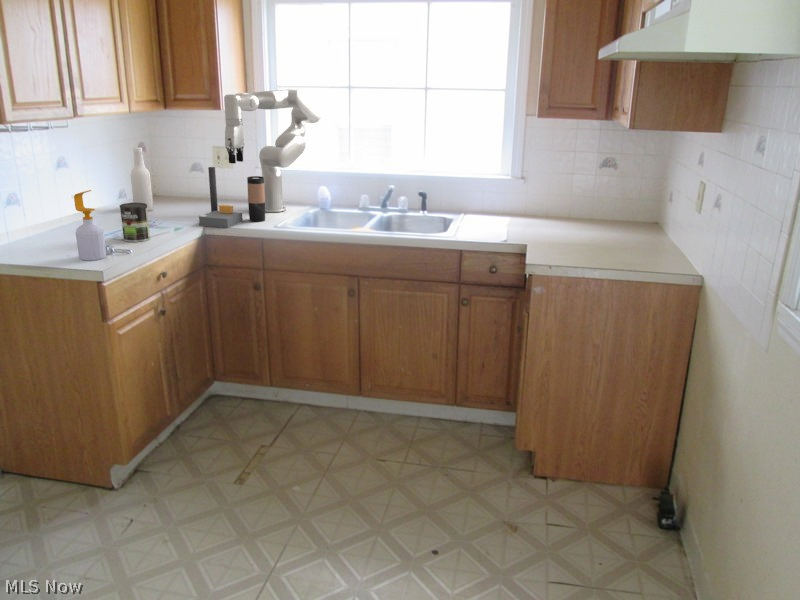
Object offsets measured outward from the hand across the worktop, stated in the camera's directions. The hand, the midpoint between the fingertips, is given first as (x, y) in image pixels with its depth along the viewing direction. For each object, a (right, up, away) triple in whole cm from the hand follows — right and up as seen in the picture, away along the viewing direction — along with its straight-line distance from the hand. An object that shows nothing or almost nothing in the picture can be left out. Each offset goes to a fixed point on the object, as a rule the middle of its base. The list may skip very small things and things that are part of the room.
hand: (236, 162), depth 300 cm
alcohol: (-49, -21, +16) cm, 56 cm away
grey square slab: (-5, -30, -7) cm, 31 cm away
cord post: (-12, -25, +6) cm, 28 cm away
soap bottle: (-36, -49, -65) cm, 89 cm away
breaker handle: (-4, -24, -4) cm, 25 cm away
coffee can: (-31, -40, -38) cm, 63 cm away
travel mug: (+10, -27, +1) cm, 29 cm away
